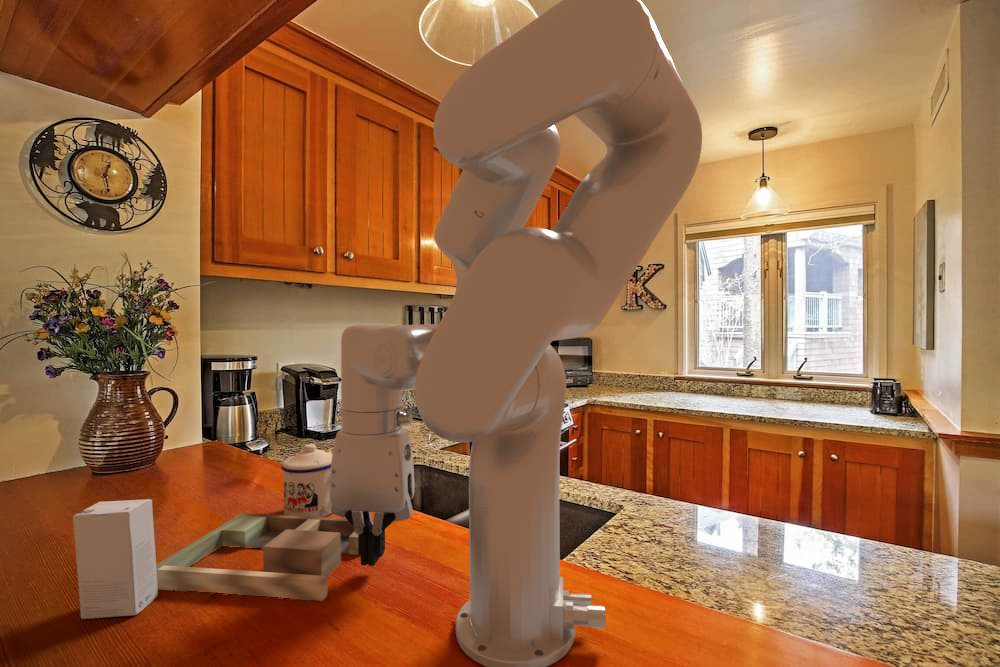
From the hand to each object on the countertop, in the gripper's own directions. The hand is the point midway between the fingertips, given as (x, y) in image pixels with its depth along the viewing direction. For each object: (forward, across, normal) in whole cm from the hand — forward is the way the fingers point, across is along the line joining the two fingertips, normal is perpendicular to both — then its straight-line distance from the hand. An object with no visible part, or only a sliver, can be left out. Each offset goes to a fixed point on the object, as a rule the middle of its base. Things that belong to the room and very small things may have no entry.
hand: (371, 560), depth 61 cm
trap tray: (+2, +14, -2) cm, 15 cm away
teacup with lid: (+3, +17, -18) cm, 25 cm away
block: (+2, +9, 0) cm, 10 cm away
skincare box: (+3, +26, +10) cm, 28 cm away
